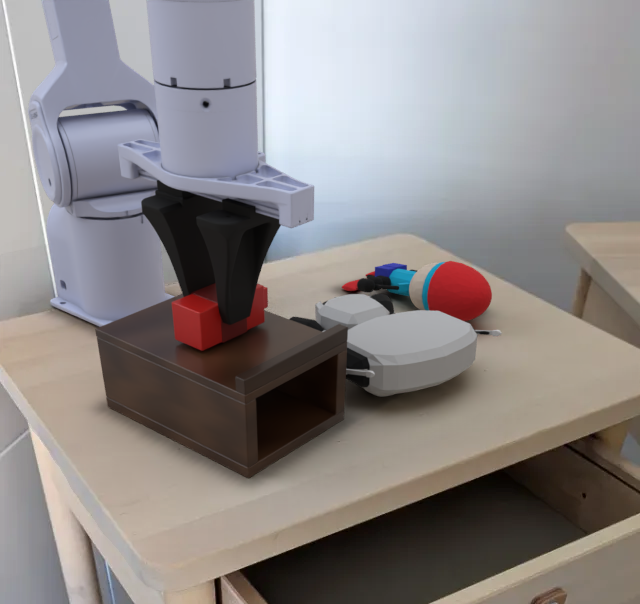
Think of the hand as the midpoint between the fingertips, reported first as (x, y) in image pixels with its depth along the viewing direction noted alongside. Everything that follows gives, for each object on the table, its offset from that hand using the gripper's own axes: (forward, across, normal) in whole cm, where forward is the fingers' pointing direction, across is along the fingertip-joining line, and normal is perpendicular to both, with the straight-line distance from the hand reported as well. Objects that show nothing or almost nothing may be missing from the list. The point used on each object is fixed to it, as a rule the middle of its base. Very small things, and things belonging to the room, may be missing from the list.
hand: (219, 312), depth 56 cm
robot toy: (+8, -4, -13) cm, 16 cm away
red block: (+1, 0, 0) cm, 1 cm away
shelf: (+8, 0, 0) cm, 8 cm away
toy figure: (+8, 0, -25) cm, 26 cm away
